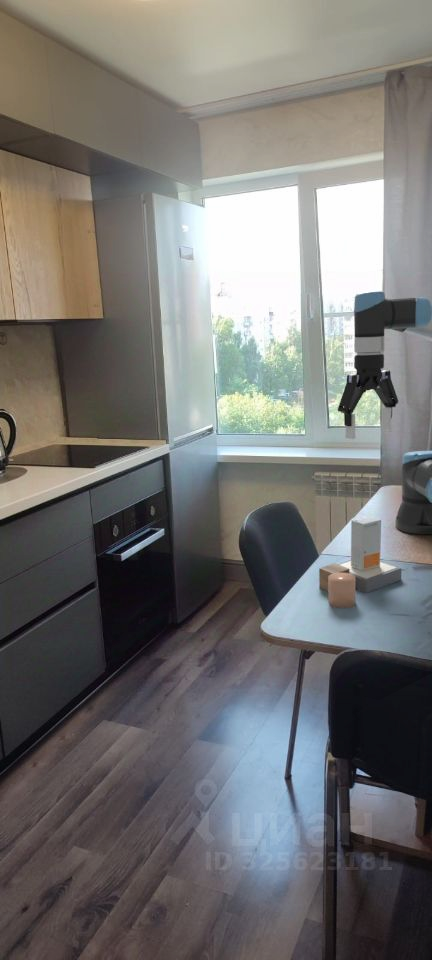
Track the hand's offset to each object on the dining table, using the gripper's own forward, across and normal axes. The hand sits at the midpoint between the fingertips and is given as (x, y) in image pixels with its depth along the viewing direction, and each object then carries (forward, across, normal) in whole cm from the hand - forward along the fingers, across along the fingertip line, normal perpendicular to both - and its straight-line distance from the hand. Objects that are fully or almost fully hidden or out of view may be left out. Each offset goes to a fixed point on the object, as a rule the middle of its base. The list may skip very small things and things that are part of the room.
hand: (368, 434), depth 179 cm
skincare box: (+29, +17, +15) cm, 37 cm away
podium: (+32, +17, +15) cm, 39 cm away
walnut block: (+32, +26, +14) cm, 44 cm away
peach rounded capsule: (+32, +31, +21) cm, 49 cm away
